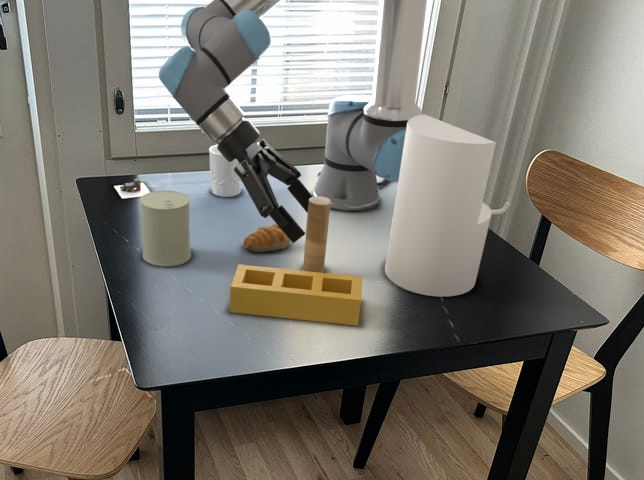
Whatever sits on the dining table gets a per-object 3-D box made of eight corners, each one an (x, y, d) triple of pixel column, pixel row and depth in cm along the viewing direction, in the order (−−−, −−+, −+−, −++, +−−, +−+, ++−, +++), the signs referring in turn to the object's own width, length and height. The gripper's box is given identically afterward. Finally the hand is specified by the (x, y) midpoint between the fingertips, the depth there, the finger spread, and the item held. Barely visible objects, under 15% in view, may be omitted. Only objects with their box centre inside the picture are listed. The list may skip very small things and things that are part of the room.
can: (150, 269, 134) (146, 209, 127) (137, 249, 140) (133, 190, 134) (197, 262, 137) (196, 203, 130) (182, 243, 144) (181, 185, 137)
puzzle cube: (137, 186, 167) (137, 176, 166) (140, 190, 165) (140, 180, 164) (119, 188, 166) (119, 178, 165) (122, 192, 164) (122, 182, 162)
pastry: (256, 258, 140) (256, 239, 138) (235, 245, 144) (236, 227, 142) (292, 246, 145) (294, 229, 143) (272, 235, 149) (272, 217, 147)
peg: (315, 263, 139) (322, 194, 131) (328, 272, 136) (335, 202, 129) (298, 268, 137) (304, 198, 129) (310, 276, 135) (317, 206, 127)
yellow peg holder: (237, 289, 129) (238, 264, 126) (358, 301, 128) (362, 276, 125) (229, 312, 122) (230, 286, 119) (357, 326, 121) (361, 300, 118)
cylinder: (426, 304, 128) (457, 149, 112) (366, 265, 140) (386, 119, 124) (495, 284, 136) (532, 136, 120) (432, 248, 148) (459, 109, 132)
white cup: (213, 184, 171) (213, 142, 166) (245, 187, 171) (246, 145, 165) (205, 196, 165) (205, 153, 159) (239, 199, 164) (240, 156, 158)
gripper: (236, 125, 138) (305, 210, 144) (192, 166, 118) (276, 263, 124) (263, 100, 134) (334, 188, 140) (224, 138, 114) (308, 239, 120)
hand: (307, 223), depth 132 cm, fingers open, 13 cm apart
